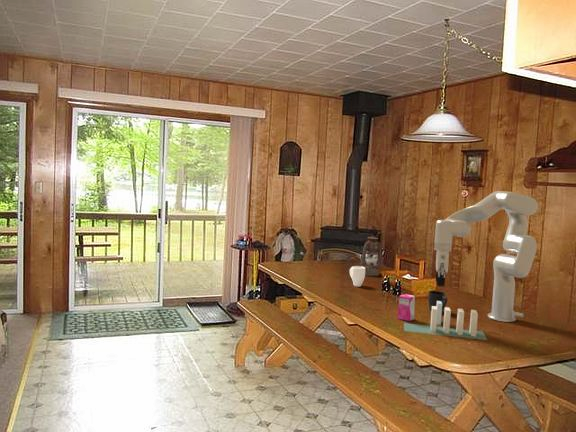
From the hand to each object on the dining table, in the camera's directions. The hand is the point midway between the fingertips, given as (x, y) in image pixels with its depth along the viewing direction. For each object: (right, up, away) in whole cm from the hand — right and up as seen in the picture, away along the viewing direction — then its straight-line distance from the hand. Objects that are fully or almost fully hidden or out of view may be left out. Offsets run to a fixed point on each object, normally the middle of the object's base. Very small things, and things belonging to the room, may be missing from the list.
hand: (439, 283), depth 226 cm
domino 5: (+10, -20, -14) cm, 26 cm away
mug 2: (-29, -11, +75) cm, 81 cm away
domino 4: (+5, -20, -12) cm, 24 cm away
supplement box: (-15, -18, +5) cm, 24 cm away
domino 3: (-1, -19, -11) cm, 22 cm away
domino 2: (-1, -19, +1) cm, 19 cm away
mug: (+5, -17, +21) cm, 28 cm away
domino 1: (-6, -19, -10) cm, 22 cm away
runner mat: (-2, -19, -11) cm, 22 cm away
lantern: (-13, -9, +110) cm, 111 cm away
